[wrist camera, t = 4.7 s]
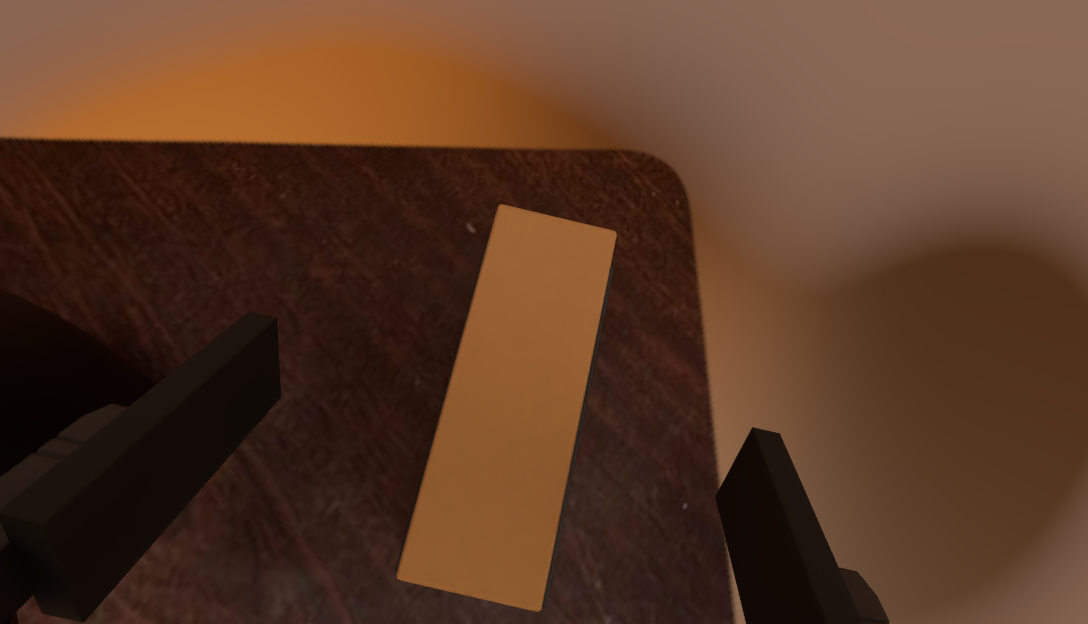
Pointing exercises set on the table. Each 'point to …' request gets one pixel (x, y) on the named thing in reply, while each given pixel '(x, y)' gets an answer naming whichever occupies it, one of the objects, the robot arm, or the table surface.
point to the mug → (53, 378)
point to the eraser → (512, 413)
